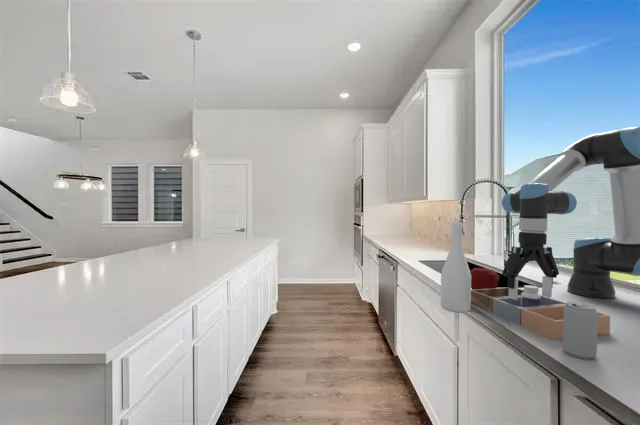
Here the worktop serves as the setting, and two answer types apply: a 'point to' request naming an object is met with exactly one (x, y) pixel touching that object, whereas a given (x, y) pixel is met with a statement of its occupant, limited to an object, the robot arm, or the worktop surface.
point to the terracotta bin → (555, 321)
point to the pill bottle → (530, 296)
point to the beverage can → (580, 330)
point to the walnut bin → (489, 297)
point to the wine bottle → (456, 276)
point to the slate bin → (518, 307)
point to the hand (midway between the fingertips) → (530, 297)
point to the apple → (483, 278)
